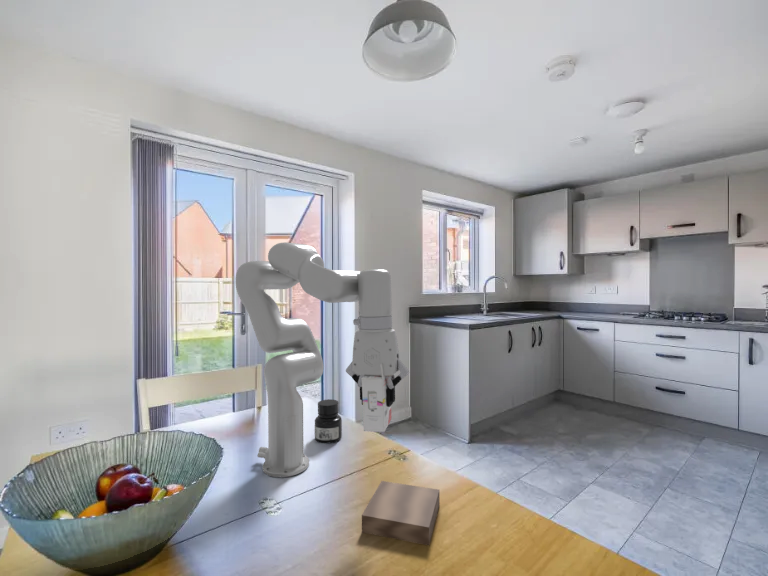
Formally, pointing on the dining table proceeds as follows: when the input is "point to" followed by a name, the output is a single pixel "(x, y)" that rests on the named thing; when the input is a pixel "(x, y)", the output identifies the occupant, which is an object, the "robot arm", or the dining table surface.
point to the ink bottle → (328, 422)
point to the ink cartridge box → (375, 403)
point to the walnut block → (402, 512)
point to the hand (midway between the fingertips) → (377, 403)
